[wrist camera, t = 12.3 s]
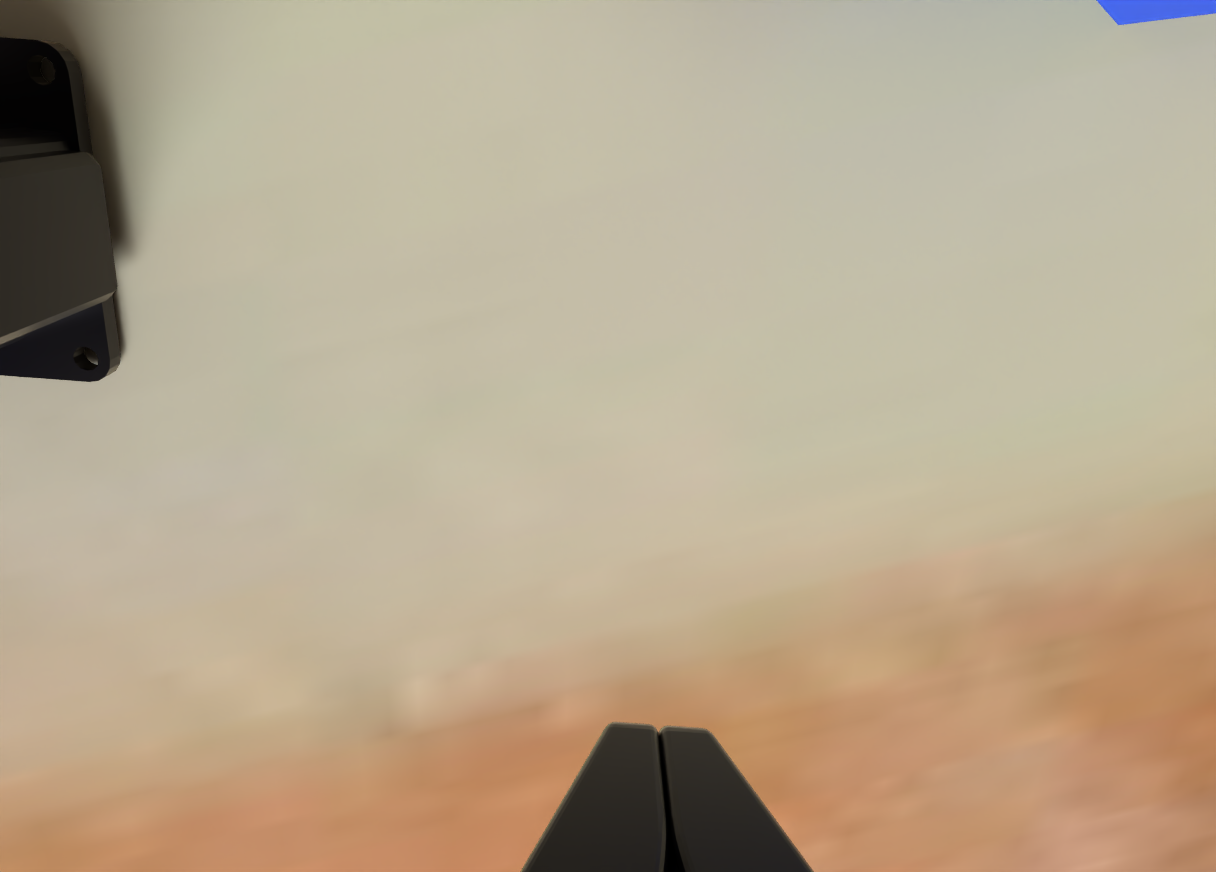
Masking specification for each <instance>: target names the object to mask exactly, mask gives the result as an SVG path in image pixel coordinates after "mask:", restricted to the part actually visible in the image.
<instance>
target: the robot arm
mask: <svg viewBox="0 0 1216 872" xmlns="http://www.w3.org/2000/svg"><path fill="white" fill-rule="evenodd" d="M45 57H46V58H47V59H48V60H49V61H51V62H52V64H53V66H54V69H55V79H54V80H53V81H52V83H49V82H48V81H47V80H46V79H45V78H44V77H43V75H42V72H41V70H40V68H41V61H42V60H43V59H44V58H45ZM116 290H117V280H116V273H115V265H114V258H113V251H112V243H111V236H110V229H109V221H108V214H107V207H106V199H105V192H104V185H103V177H102V170H101V166H100V165H99V164H98V162H97V161H96V160H95V159H94V158H93V154H92V146H91V139H90V132H89V125H88V118H87V111H86V103H85V96H84V89H83V82H82V75H81V70H80V67H79V64H78V61H77V60H76V58H75V57H74V56H73V54H72V53H71V51H69V50H68V49H66V48H65V47H64V46H62V45H61V44H58V43H54V42H51V41H41V40H28V39H15V38H3V37H0V375H5V376H18V377H32V378H45V379H59V380H72V381H86V382H91V381H99V380H100V379H102V378H104V377H106V376H108V375H109V374H111V373H113V372H114V371H116V369H117V368H118V366H119V364H120V348H119V340H118V333H117V326H116V319H115V312H114V305H113V297H112V294H113V293H114V292H115V291H116ZM85 347H87V348H90V349H91V350H93V351H94V352H95V353H96V355H97V357H98V365H97V364H94V363H91V362H90V361H89V360H88V359H87V358H86V355H85V353H84V350H85ZM521 872H814V871H813V870H812V869H811V867H810V866H809V865H808V863H807V862H806V860H805V859H804V858H803V856H802V855H801V854H800V852H799V851H798V850H797V848H796V847H795V845H794V844H793V843H792V841H791V840H790V839H789V837H788V836H787V835H786V833H785V832H784V830H783V829H782V828H781V826H780V825H779V824H778V822H777V821H776V820H775V818H774V817H773V816H772V814H771V813H770V811H769V810H768V809H767V807H766V806H765V805H764V803H763V802H762V801H761V799H760V798H759V796H758V795H757V794H756V792H755V791H754V790H753V788H752V787H751V786H750V784H749V783H748V782H747V780H746V779H745V777H744V776H743V775H742V773H741V772H740V771H739V769H738V768H737V767H736V765H735V764H734V762H733V761H732V760H731V758H730V757H729V756H728V754H727V753H726V752H725V750H724V749H723V747H722V746H721V745H720V743H719V742H718V741H717V739H716V738H715V737H714V735H713V734H712V733H711V732H710V731H708V730H707V729H703V728H694V727H680V726H664V727H663V728H661V730H660V731H659V733H658V731H657V729H656V728H655V727H654V726H653V725H650V724H638V723H624V722H612V723H610V724H608V725H607V727H606V728H605V729H604V730H603V732H602V734H601V736H600V737H599V739H598V741H597V742H596V744H595V746H594V747H593V749H592V751H591V753H590V754H589V756H588V758H587V759H586V761H585V763H584V765H583V766H582V768H581V770H580V771H579V773H578V775H577V776H576V778H575V780H574V782H573V783H572V785H571V787H570V788H569V790H568V792H567V793H566V795H565V797H564V799H563V800H562V802H561V804H560V805H559V807H558V809H557V810H556V812H555V814H554V816H553V817H552V819H551V821H550V822H549V824H548V826H547V827H546V829H545V831H544V833H543V834H542V836H541V838H540V839H539V841H538V843H537V844H536V846H535V848H534V850H533V851H532V853H531V855H530V856H529V858H528V860H527V861H526V863H525V865H524V867H523V868H522V870H521Z"/></svg>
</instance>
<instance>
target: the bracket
mask: <svg viewBox="0 0 1216 872" xmlns="http://www.w3.org/2000/svg"><path fill="white" fill-rule="evenodd" d="M1097 1H1098V2H1099V4H1100V5H1101V6H1102V7H1103V8H1104V9H1105V10H1106V12H1107V13H1108V14H1109V15H1110V16H1111V17H1112V18H1113V19H1114V21H1115V22H1116V23H1117V24H1118V25H1123V24H1131V23H1139V22H1147V21H1155V20H1164V19H1172V18H1180V17H1188V16H1197V15H1205V14H1213V13H1216V0H1097Z"/></svg>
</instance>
